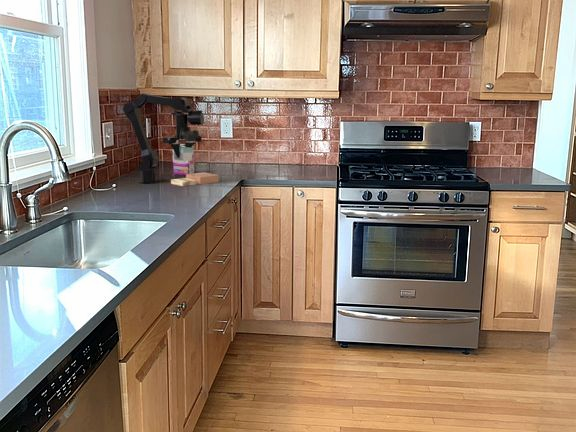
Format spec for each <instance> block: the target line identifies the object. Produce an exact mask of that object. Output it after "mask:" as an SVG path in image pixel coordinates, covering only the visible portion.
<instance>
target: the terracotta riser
mask: <svg viewBox="0 0 576 432" xmlns="http://www.w3.org/2000/svg"><path fill="white" fill-rule="evenodd" d="M185 178H187V179H192V180H197V184H196V185H205V184H206V185H208V184H213V183H219V174H216V173H215V174H214V173H209V172H204V171H203V172H195V173H194V174H186V176H185Z"/></svg>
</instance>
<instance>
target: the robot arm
mask: <svg viewBox="0 0 576 432" xmlns="http://www.w3.org/2000/svg"><path fill="white" fill-rule="evenodd" d="M146 104H152V105H153V104H154V105H162V106H166V107H169V108H172V109H173V111H172V112H171V114H170V115H171V116H175V126H174V130H175V135H174V136H163V138H162V144H168V145H170V146H171V148H173V150H174V152H175V154H176V156H177V158H179V146H180V144H181V143H179V142H184V144H185V147H189V148H192V146H193V145H194V146H195V145H196V144H197V143H199V142H202V141H203V140H202V137H201V135H200V134H199V133H200V132H199V130H195V129H194V130H192V131H191V127H190V126H189V124H190V125H191V126H204V123H205V115H204V113H203V110H201V109H199V110H194V109H193V107H191V105H190V102H189V101H188V99H187V98H186V97H165V96H160V95H153V94H148V93H139V95H138V96H136V97H134V99H132V100H131V101H129V102H126V103H124V105H123V107H122V111H123V113H124V115H125V117H126V119H128V121H129V122H130V124H131V125H132V128H133V132H134V135H135V137H136V139H137V142H138V145H139V148H140V154H141V155H140V158H141V162H140V163H139V165H137V169H138V170H137V171H138V172H139V180H138V183H140V184H144V185H146V184H147V185H148V184H154V183H157V181H156V173H155V169H156V166H157V165H159V161H160V160H159V158H160V157H159V155H158V152H157V151H158V150H157V149H155V150H153V149H152V147H151V144H150V143H149V139H148V136H147V134H146V131H145V128H144V126H143V123H142V120H141V118H142V112H141V109H142V108H143V107H144V106H145V105H146Z"/></svg>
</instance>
